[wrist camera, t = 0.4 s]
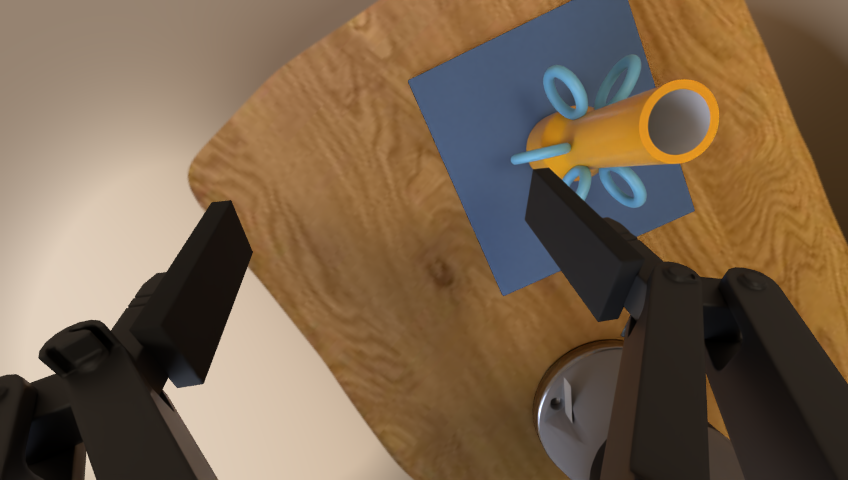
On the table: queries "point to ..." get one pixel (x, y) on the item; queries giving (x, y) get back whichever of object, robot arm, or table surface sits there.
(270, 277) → the table surface
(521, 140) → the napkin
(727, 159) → the table surface
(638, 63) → the cylinder
